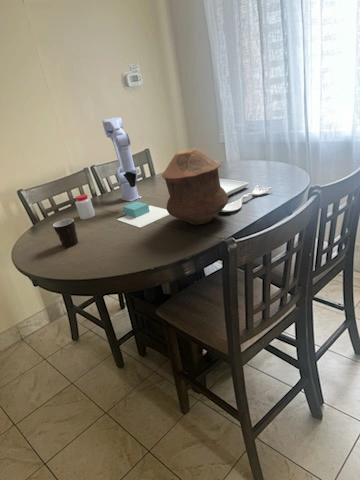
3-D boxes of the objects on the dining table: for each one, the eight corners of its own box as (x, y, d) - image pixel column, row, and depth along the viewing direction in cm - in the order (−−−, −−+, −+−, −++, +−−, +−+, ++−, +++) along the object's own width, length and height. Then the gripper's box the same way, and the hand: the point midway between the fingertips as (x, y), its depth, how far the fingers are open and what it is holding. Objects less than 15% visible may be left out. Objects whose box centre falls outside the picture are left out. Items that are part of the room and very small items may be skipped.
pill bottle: (98, 213, 180) (92, 193, 175) (90, 219, 173) (83, 198, 169) (85, 213, 182) (79, 194, 178) (77, 219, 176) (70, 199, 171)
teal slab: (122, 206, 168) (134, 209, 161) (136, 201, 172) (147, 204, 165) (124, 214, 170) (136, 217, 162) (138, 208, 174) (149, 211, 167)
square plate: (214, 206, 160) (213, 198, 158) (175, 199, 180) (174, 192, 178) (250, 188, 175) (249, 181, 173) (211, 183, 195) (210, 176, 193)
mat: (116, 220, 165) (116, 219, 165) (150, 205, 176) (150, 205, 176) (140, 228, 150) (140, 227, 150) (175, 212, 161) (175, 211, 161)
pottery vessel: (241, 222, 137) (233, 146, 125) (180, 240, 132) (165, 162, 120) (216, 205, 160) (207, 139, 148) (163, 219, 155) (149, 152, 143)
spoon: (273, 192, 163) (273, 185, 162) (230, 217, 145) (229, 209, 144) (257, 190, 170) (257, 183, 168) (214, 213, 152) (213, 206, 150)
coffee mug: (62, 241, 151) (55, 220, 147) (82, 238, 151) (75, 217, 147) (56, 253, 141) (48, 231, 137) (77, 249, 141) (70, 227, 137)
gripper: (112, 161, 173) (119, 187, 178) (128, 162, 162) (134, 190, 167) (124, 157, 176) (130, 183, 182) (140, 158, 166) (146, 186, 171)
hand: (133, 186), depth 175 cm, fingers closed
